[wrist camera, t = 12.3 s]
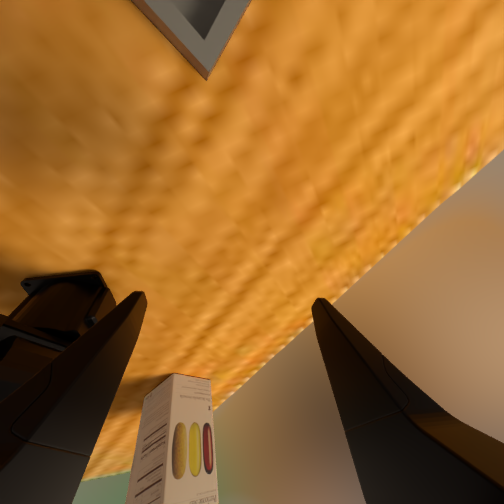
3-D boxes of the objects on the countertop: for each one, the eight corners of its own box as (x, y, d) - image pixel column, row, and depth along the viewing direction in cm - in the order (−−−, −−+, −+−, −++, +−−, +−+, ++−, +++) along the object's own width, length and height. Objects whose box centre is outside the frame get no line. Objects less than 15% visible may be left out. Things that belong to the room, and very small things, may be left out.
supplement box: (211, 378, 39) (222, 508, 26) (184, 400, 41) (180, 532, 28) (172, 372, 34) (160, 532, 20) (142, 397, 36) (113, 559, 22)
